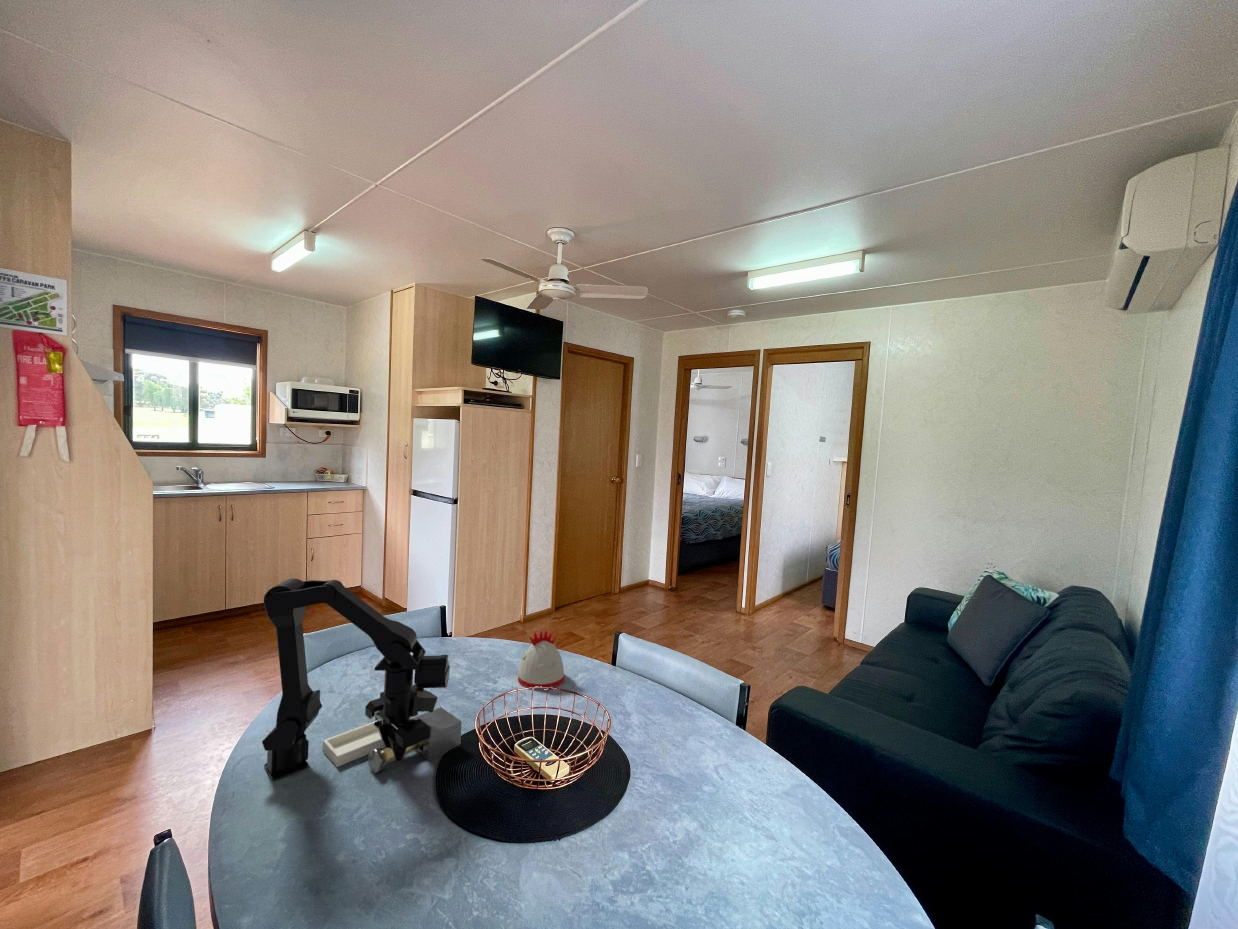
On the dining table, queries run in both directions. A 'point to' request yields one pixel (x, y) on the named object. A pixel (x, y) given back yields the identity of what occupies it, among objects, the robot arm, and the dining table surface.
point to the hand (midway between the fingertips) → (395, 757)
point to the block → (440, 733)
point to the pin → (386, 756)
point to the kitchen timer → (541, 663)
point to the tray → (352, 744)
